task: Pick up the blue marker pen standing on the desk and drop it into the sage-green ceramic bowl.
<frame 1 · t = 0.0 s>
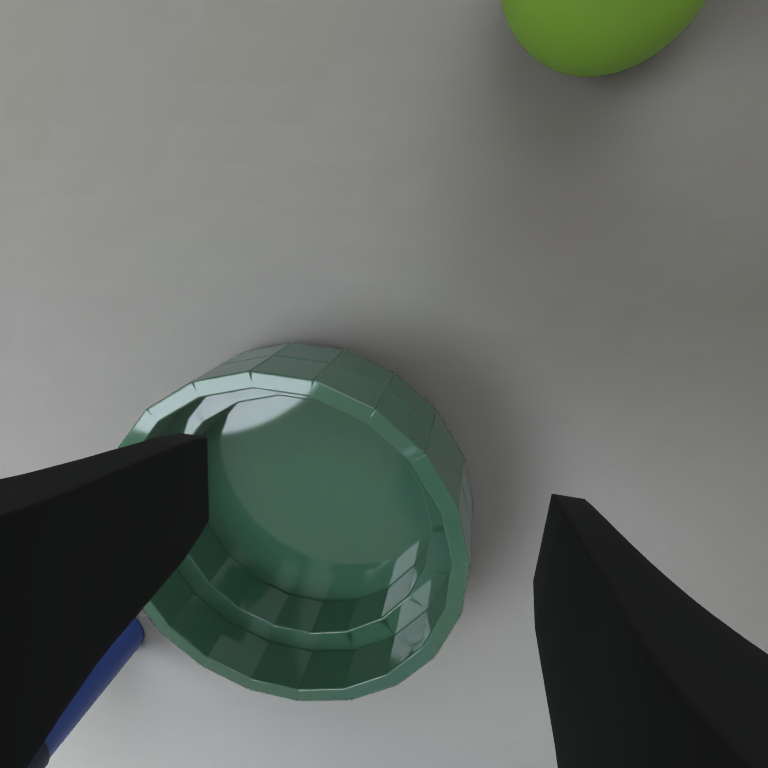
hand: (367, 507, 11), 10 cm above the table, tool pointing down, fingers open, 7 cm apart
snail figurine: (598, 9, 16), on the table
marker: (121, 628, 28), on the table
bowl: (315, 490, 23), on the table
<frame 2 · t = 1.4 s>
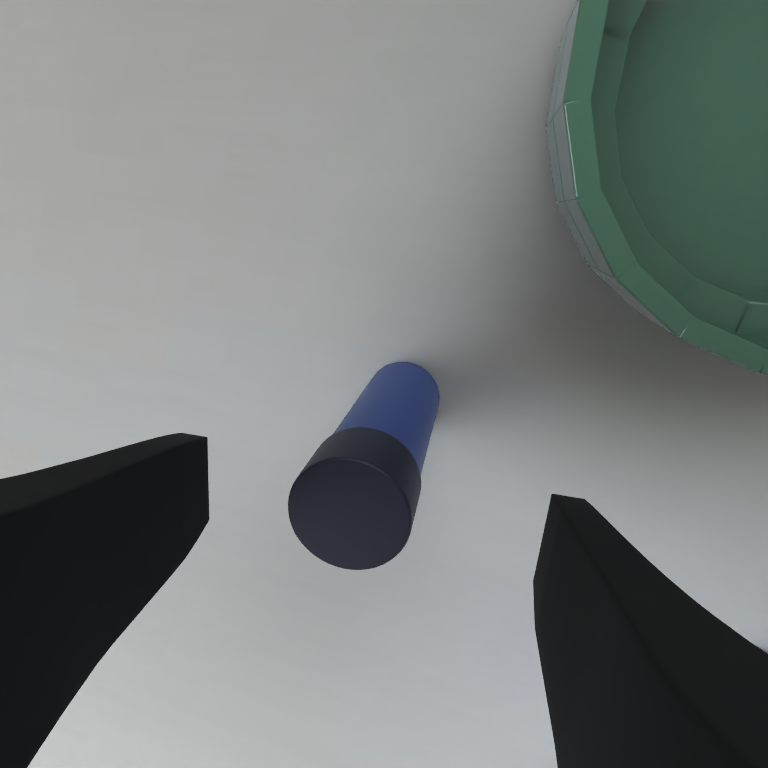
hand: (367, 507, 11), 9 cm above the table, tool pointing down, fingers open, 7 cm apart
marker: (403, 396, 19), on the table
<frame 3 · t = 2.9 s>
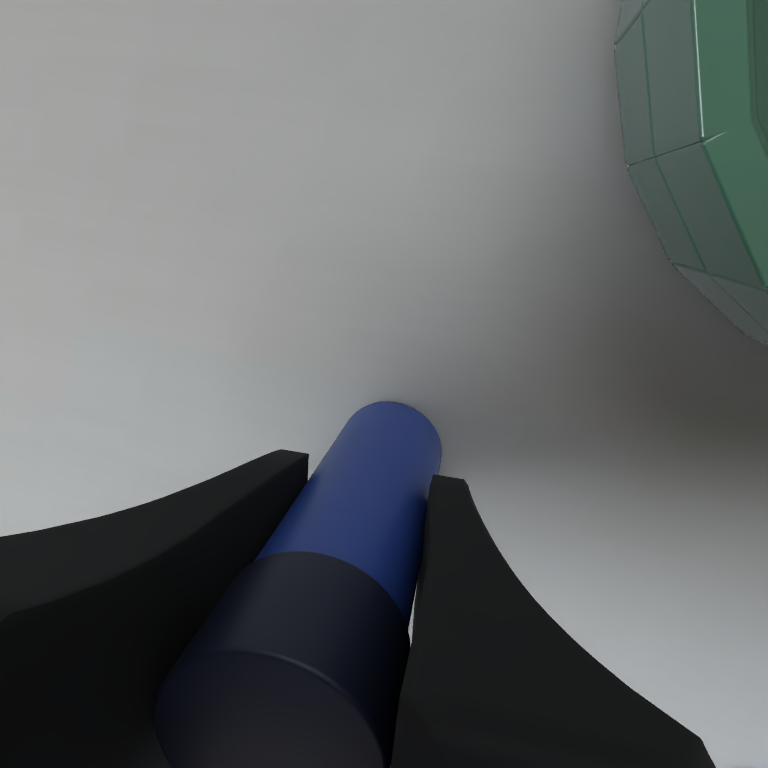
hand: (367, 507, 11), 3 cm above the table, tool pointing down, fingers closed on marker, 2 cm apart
marker: (390, 448, 14), on the table, touching gripper
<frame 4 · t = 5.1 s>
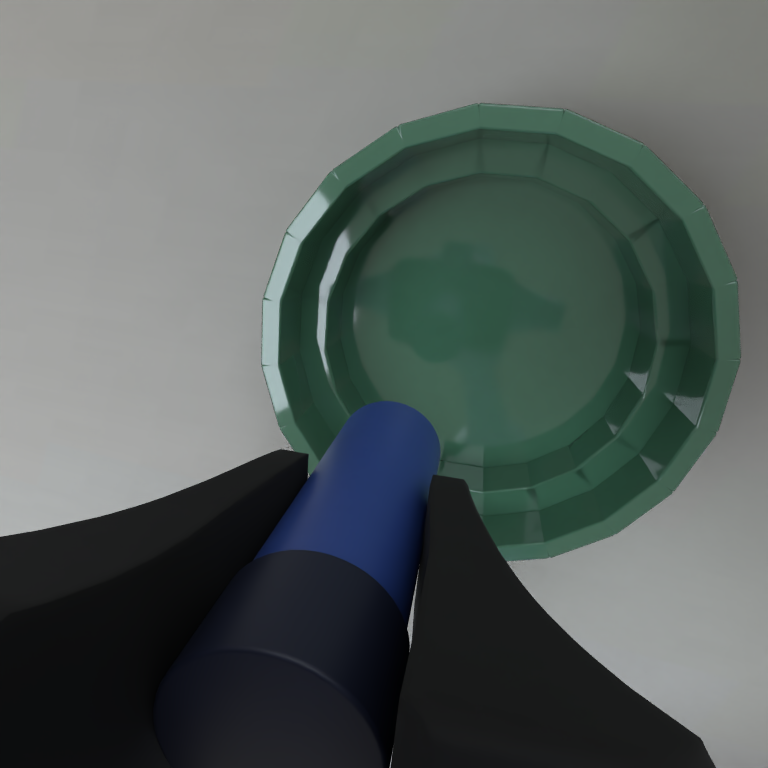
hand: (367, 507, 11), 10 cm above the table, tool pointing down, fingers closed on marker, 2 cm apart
marker: (390, 447, 14), point 7 cm above the table, touching gripper
bowl: (482, 330, 19), on the table
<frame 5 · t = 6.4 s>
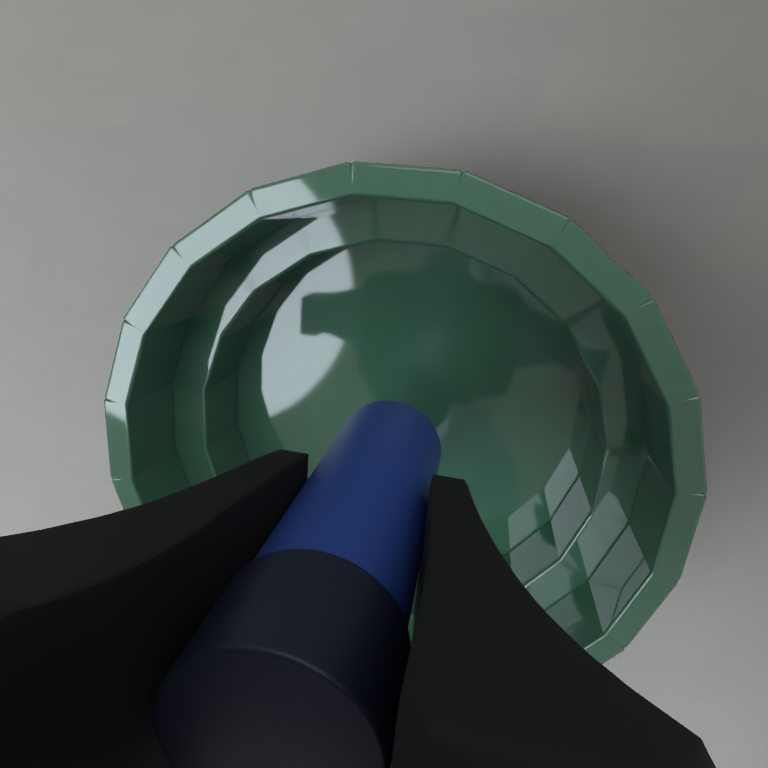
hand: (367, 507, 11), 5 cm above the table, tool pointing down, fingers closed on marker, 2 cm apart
marker: (390, 447, 14), point 3 cm above the table, touching gripper
bowl: (405, 413, 16), on the table
when the fingers open (3 cm above the table, at t = 7.3 s): marker stays where it is, resting on bowl.
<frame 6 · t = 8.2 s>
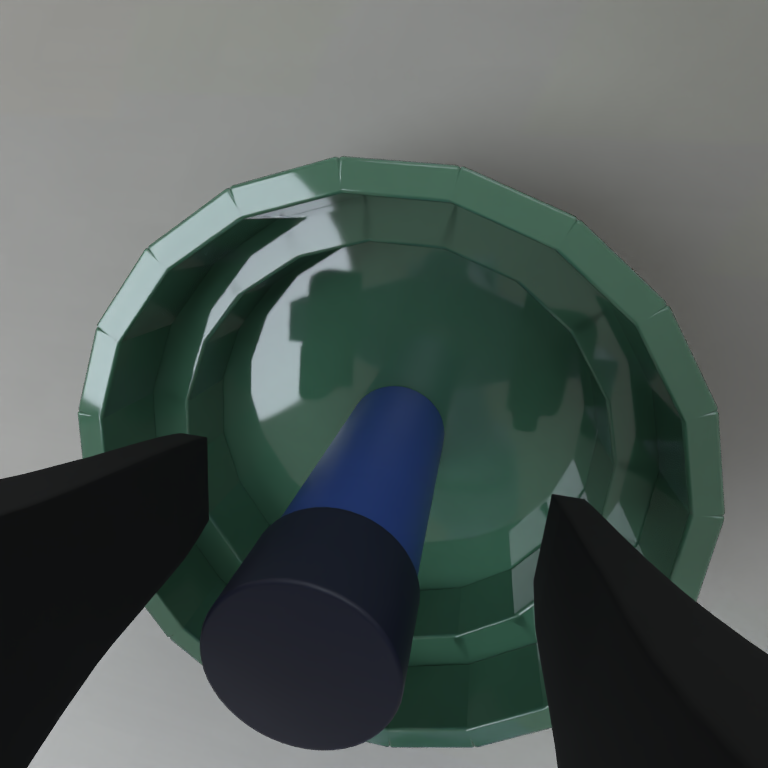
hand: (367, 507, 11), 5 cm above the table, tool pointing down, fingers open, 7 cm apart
marker: (397, 430, 15), point 1 cm above the table, touching bowl
bowl: (401, 424, 15), on the table
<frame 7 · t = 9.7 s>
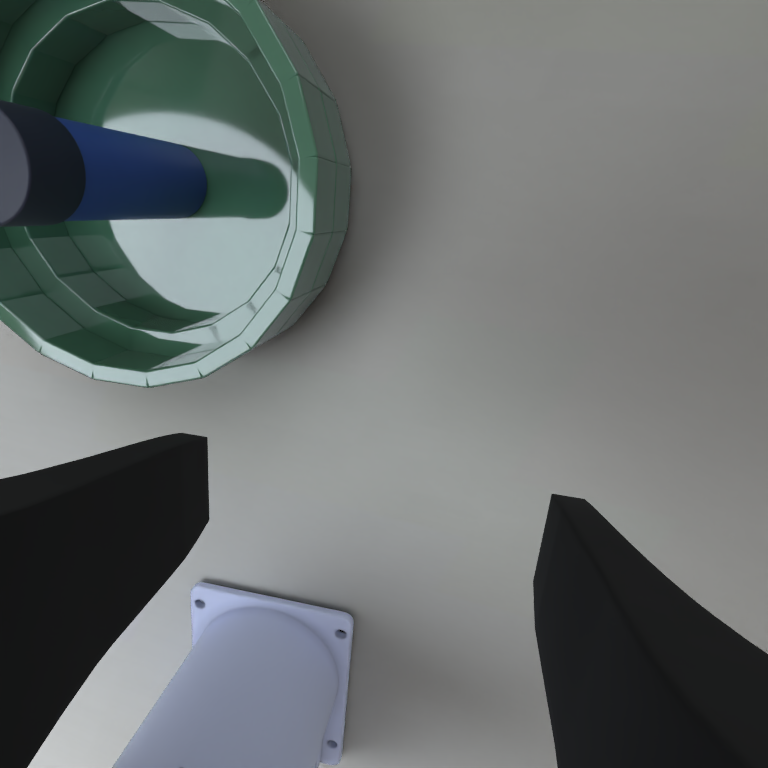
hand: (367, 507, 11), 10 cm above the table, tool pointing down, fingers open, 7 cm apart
marker: (175, 181, 20), point 1 cm above the table, touching bowl
bowl: (184, 184, 20), on the table
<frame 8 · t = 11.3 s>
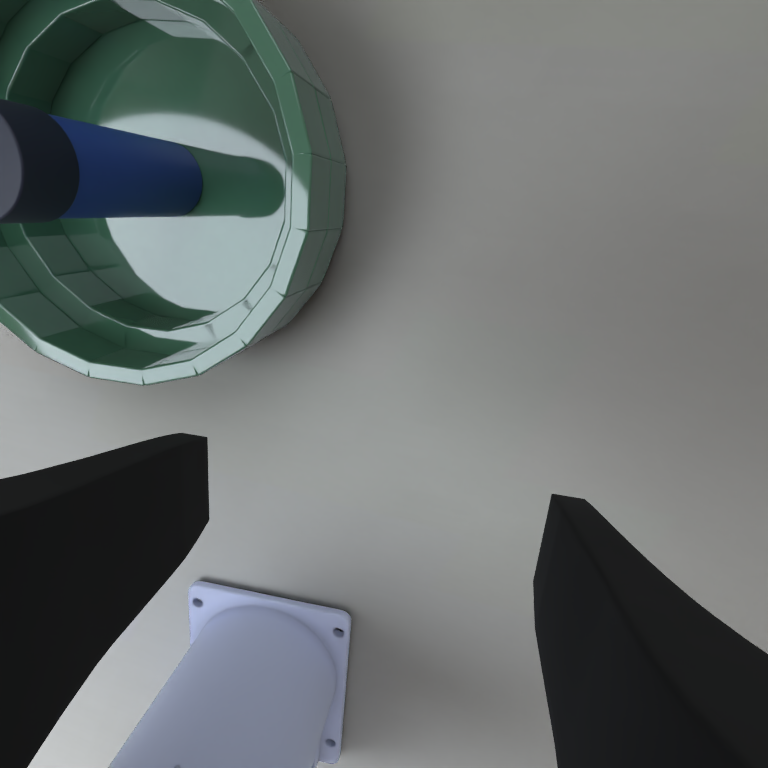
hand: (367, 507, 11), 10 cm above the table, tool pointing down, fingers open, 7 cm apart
marker: (170, 179, 20), point 1 cm above the table, touching bowl
bowl: (180, 182, 20), on the table
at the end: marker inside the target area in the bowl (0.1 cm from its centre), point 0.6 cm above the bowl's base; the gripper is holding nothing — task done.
